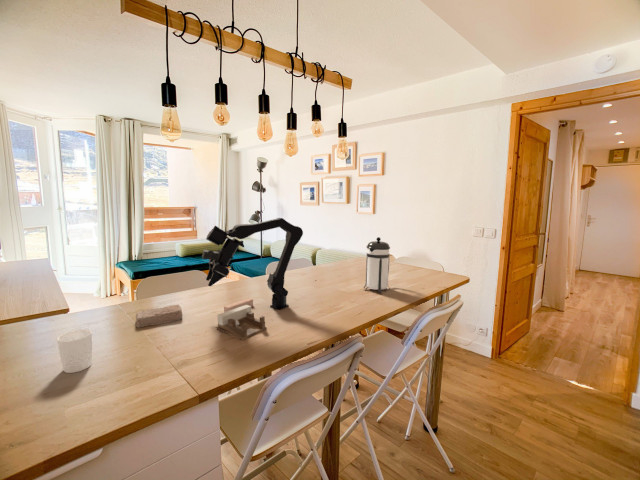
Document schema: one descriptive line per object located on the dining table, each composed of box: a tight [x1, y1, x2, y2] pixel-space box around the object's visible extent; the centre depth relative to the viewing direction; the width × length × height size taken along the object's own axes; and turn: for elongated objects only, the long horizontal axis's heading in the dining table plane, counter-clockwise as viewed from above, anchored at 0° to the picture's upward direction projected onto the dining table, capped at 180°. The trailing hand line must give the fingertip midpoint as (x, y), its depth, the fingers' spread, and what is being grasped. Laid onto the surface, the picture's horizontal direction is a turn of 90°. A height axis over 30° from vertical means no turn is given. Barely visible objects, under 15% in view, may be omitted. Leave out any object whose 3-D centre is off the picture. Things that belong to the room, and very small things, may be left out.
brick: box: [135, 304, 183, 328], centre depth 125 cm, size 17×8×5 cm, turn 123°
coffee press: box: [363, 237, 391, 294], centre depth 171 cm, size 17×16×30 cm
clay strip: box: [223, 297, 254, 313], centre depth 139 cm, size 14×3×4 cm, turn 144°
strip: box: [216, 305, 252, 326], centre depth 120 cm, size 14×3×4 cm, turn 144°
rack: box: [216, 311, 267, 341], centre depth 118 cm, size 12×15×5 cm
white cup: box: [56, 329, 93, 374], centre depth 90 cm, size 8×8×10 cm
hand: (208, 283), depth 128 cm, fingers open, 9 cm apart
